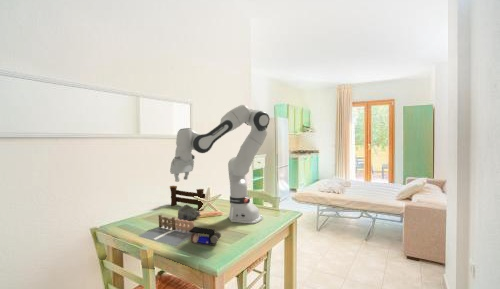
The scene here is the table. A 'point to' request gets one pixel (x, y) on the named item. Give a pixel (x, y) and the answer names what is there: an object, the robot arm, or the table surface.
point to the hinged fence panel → (186, 228)
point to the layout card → (167, 235)
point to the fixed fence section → (167, 222)
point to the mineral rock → (187, 213)
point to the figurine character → (204, 239)
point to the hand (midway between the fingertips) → (181, 180)
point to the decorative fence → (186, 200)
